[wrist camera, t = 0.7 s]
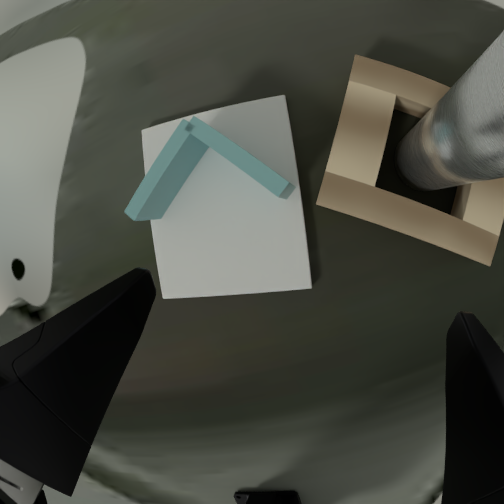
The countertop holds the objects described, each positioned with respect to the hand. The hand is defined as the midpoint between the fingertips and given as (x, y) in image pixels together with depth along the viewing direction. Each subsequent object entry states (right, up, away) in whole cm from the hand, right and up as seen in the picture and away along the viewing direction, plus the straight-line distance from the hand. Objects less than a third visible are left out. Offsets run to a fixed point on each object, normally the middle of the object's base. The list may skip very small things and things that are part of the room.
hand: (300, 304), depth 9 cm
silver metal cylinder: (+10, +7, +10) cm, 16 cm away
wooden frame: (+10, +7, +10) cm, 16 cm away
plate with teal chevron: (-3, +5, +14) cm, 15 cm away
